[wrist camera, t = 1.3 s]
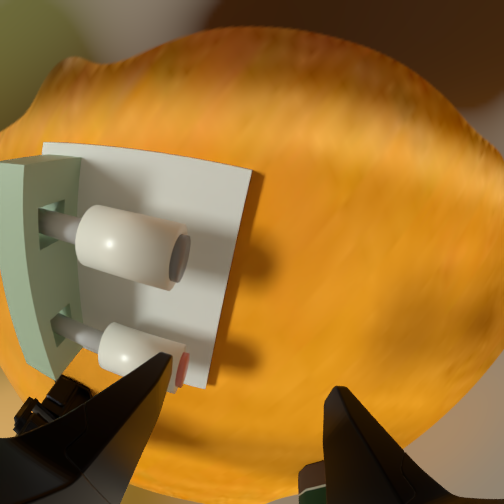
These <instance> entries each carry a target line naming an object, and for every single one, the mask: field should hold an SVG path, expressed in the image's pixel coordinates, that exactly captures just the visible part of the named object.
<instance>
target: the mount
mask: <svg viewBox="0 0 504 504" xmlns="http://www.w3.org/2000/svg"><path fill="white" fill-rule="evenodd" d="M251 174H252V170H251V169H246V168H242V167H237V166H233V165H228V164H223V163H218V162H213V161H208V160H202V159H197V158H191V157H185V156H179V155H173V154H167V153H160V152H153V151H146V150H139V149H131V148H122V147H113V146H103V145H92V144H79V143H62V142H43V150H42V155H38V156H31V157H23V158H17V159H11V160H5V161H0V270H1V276H2V281H3V286H4V290H5V295H6V299H7V303H8V307H9V311H10V315H11V318H12V322H13V325H14V328H15V331H16V334H17V338H18V340H19V343H20V346H21V349H22V352H23V354H24V357H25V360H26V362H27V364H29V365H30V366H32V367H33V368H35V369H37V370H38V371H40V372H41V373H43V374H45V375H46V376H48V377H50V378H52V379H53V380H55V381H56V380H57V379H58V378H59V377H60V375H61V374H62V373H63V371H64V370H65V369H66V367H67V366H68V365H69V364H70V362H71V361H72V360H73V359H74V357H75V356H76V355H77V354H78V352H79V351H80V350H81V349H82V347H83V348H85V349H88V350H90V351H92V352H95V353H97V354H98V352H96V351H93V350H91V349H89V348H87V347H84V346H82V345H80V344H78V343H76V342H73V341H71V340H69V339H67V338H65V337H63V336H61V335H59V334H57V333H55V332H53V331H52V327H51V322H50V320H51V319H52V318H54V317H55V316H56V315H57V314H58V313H60V314H63V315H65V316H67V317H69V318H71V319H74V320H76V321H78V322H81V323H83V324H85V325H88V326H90V327H93V328H95V329H97V330H100V331H103V332H104V331H105V330H106V328H107V327H108V326H109V325H110V324H111V323H113V322H116V323H119V324H122V325H124V326H127V327H130V328H133V329H136V330H139V331H142V332H145V333H148V334H152V335H155V336H158V337H161V338H165V339H168V340H171V341H175V342H178V343H182V344H186V346H187V351H186V353H189V354H190V358H189V364H188V369H187V373H186V377H185V380H184V383H183V384H187V385H191V386H194V387H198V388H202V389H205V388H206V384H207V379H208V374H209V369H210V364H211V359H212V354H213V349H214V344H215V339H216V334H217V329H218V324H219V320H220V315H221V310H222V305H223V300H224V296H225V291H226V286H227V282H228V277H229V272H230V268H231V263H232V258H233V254H234V249H235V245H236V240H237V236H238V231H239V227H240V222H241V218H242V213H243V209H244V205H245V200H246V196H247V192H248V187H249V183H250V179H251ZM94 205H102V206H107V207H111V208H116V209H120V210H125V211H130V212H134V213H139V214H143V215H148V216H152V217H157V218H161V219H166V220H170V221H175V222H179V223H183V224H186V226H187V235H189V236H190V240H191V244H190V252H189V258H188V262H187V266H186V269H185V272H184V275H183V277H182V279H181V280H180V282H179V283H176V284H175V286H174V287H173V289H172V290H170V291H166V290H163V289H159V288H156V287H152V286H149V285H145V284H142V283H138V282H135V281H132V280H128V279H125V278H122V277H118V276H115V275H112V274H109V273H106V272H103V271H100V270H96V269H93V268H90V267H87V266H84V265H82V264H81V263H80V262H79V260H78V258H77V255H76V250H75V245H74V244H71V243H68V242H65V241H62V240H58V239H55V238H52V237H49V236H46V235H43V234H40V233H39V228H38V208H43V209H47V210H51V211H55V212H59V213H63V214H67V215H71V216H75V217H79V218H82V217H83V215H84V214H85V213H86V211H87V210H88V209H89V208H91V207H92V206H94Z"/></svg>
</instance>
